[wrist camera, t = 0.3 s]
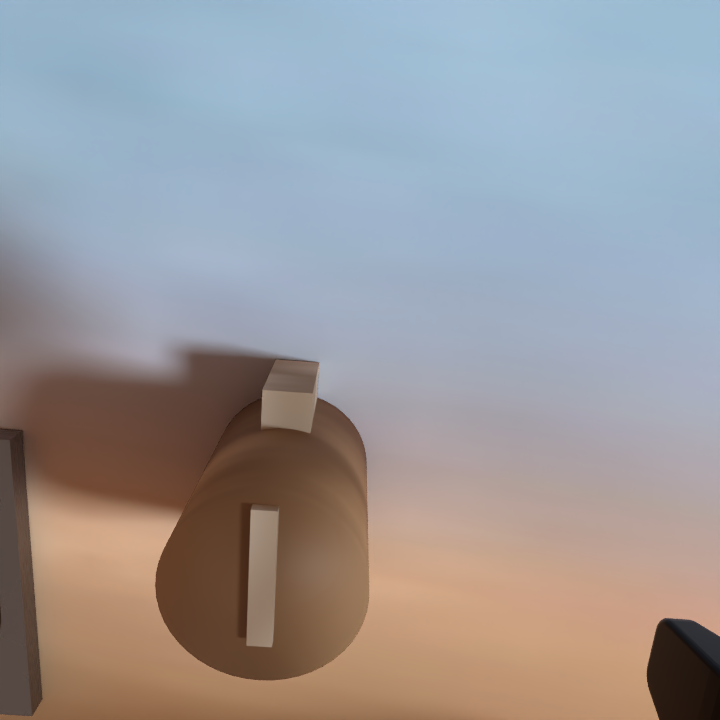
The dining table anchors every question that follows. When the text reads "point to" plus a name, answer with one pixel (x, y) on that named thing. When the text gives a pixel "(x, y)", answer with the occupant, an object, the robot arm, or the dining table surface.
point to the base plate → (16, 586)
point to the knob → (273, 538)
